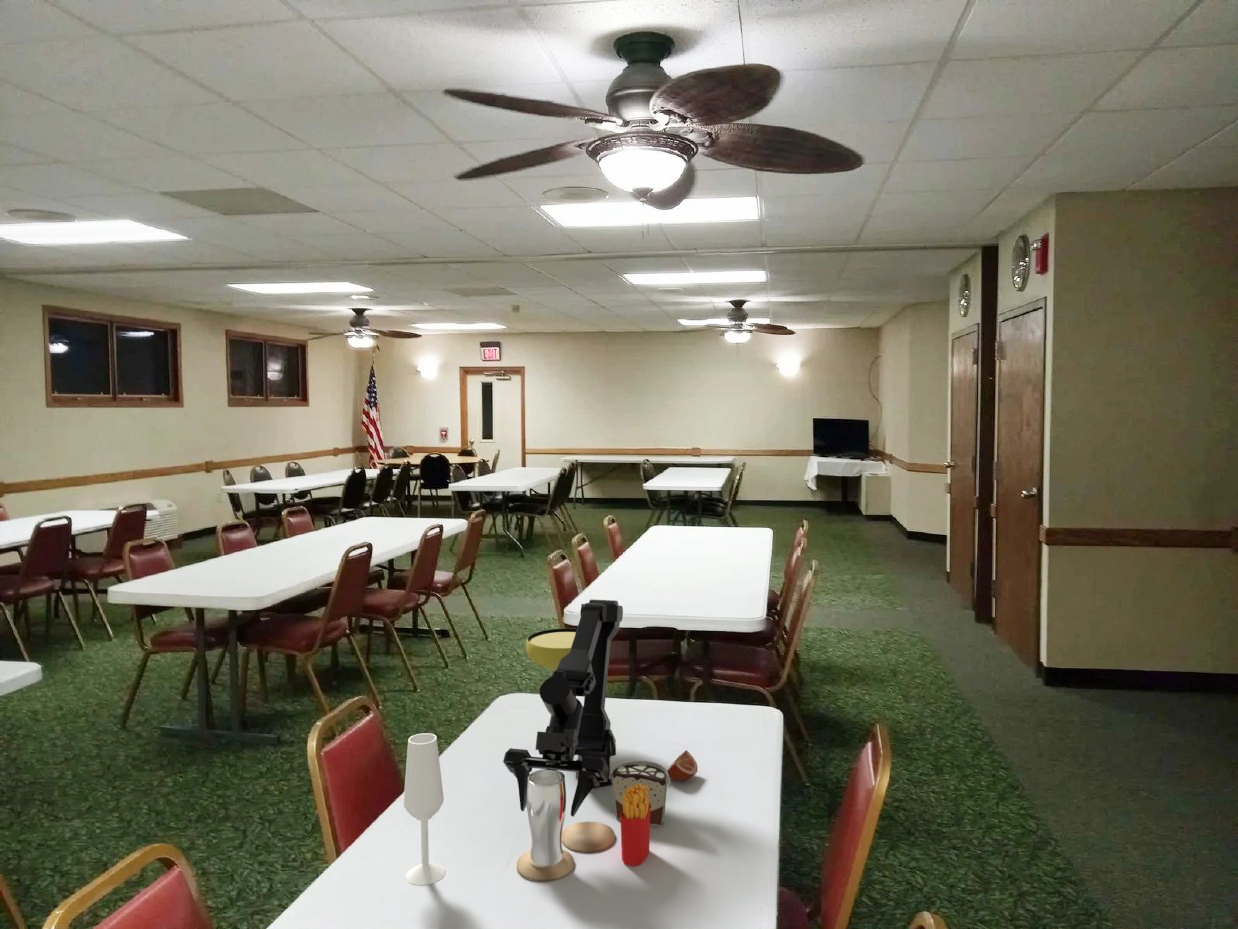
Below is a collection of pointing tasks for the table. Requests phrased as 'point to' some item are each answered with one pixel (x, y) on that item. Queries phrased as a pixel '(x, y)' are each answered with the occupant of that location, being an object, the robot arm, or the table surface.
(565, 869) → the coaster
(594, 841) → the coaster
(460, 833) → the table surface
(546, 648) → the cocktail glass
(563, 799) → the beer glass
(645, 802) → the french fries
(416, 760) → the champagne flute
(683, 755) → the fruit slice
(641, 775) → the food container
